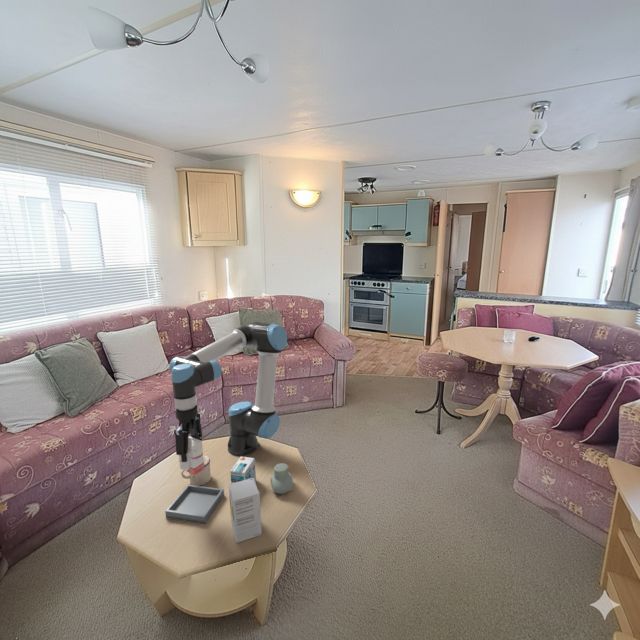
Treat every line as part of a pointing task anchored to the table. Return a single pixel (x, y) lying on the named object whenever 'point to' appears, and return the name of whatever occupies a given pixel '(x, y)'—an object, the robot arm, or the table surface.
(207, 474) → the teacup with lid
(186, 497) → the tray
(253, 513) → the supplement box
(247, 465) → the light bulb box
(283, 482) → the air freshener
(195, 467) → the ink cartridge box
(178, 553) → the table surface
